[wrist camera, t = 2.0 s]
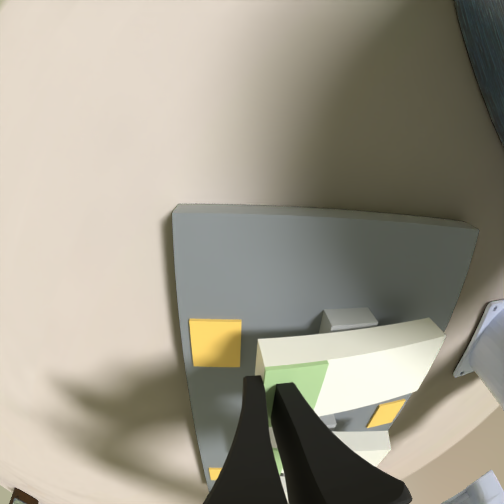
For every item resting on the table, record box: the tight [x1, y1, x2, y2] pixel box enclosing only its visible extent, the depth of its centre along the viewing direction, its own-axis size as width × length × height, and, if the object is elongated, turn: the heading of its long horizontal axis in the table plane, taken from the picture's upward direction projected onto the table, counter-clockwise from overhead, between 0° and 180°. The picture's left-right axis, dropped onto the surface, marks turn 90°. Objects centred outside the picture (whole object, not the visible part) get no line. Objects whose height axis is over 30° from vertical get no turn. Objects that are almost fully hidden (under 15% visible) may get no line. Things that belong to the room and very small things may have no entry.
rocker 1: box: [255, 318, 446, 427], centre depth 12 cm, size 9×4×2 cm, turn 87°
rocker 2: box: [269, 427, 391, 475], centre depth 15 cm, size 9×4×2 cm, turn 87°
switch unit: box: [172, 204, 479, 492], centre depth 18 cm, size 16×30×3 cm, turn 177°
